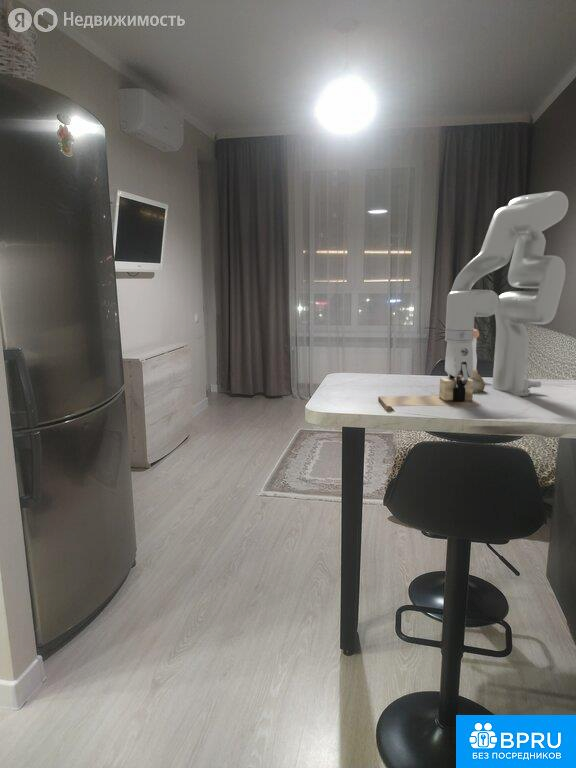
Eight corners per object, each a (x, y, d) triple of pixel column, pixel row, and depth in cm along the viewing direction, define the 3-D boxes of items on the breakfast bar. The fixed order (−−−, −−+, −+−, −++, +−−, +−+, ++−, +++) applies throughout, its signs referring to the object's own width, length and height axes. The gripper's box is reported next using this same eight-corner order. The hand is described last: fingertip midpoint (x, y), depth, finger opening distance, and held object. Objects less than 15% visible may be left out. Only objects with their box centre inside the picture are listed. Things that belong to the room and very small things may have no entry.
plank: (464, 400, 153) (465, 395, 153) (480, 410, 141) (480, 404, 141) (378, 401, 153) (378, 396, 152) (386, 411, 141) (386, 406, 141)
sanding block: (466, 398, 149) (467, 377, 148) (472, 401, 145) (473, 380, 144) (439, 398, 149) (440, 378, 148) (444, 402, 145) (445, 381, 143)
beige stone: (443, 396, 160) (452, 366, 162) (467, 407, 163) (475, 378, 165) (459, 395, 153) (468, 364, 155) (484, 406, 156) (492, 376, 158)
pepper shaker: (470, 382, 180) (473, 327, 176) (451, 379, 185) (454, 326, 181) (480, 379, 185) (484, 326, 181) (462, 376, 190) (465, 324, 186)
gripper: (484, 339, 135) (479, 406, 139) (461, 332, 152) (458, 393, 155) (456, 339, 135) (452, 406, 139) (436, 333, 152) (433, 393, 155)
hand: (455, 398), depth 147 cm, fingers closed on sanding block, 4 cm apart
